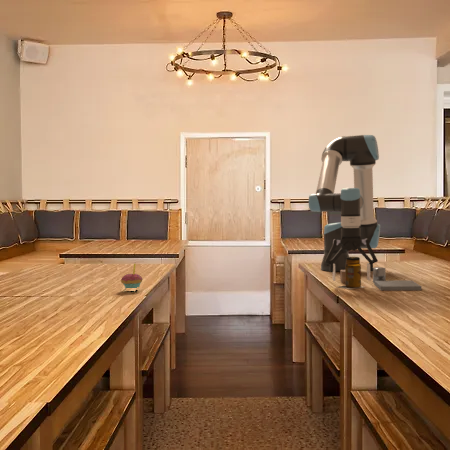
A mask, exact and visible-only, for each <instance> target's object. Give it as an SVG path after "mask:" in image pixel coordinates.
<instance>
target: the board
mask: <svg viewBox="0 0 450 450" xmlns="http://www.w3.org/2000/svg"><path fill="white" fill-rule="evenodd" d="M373 285H374V286H376V288H378V290H380V291H383V290H384V291H422V289H423V286H422V285H420V284H419V283H417V282H415V281H414V280H413V279H412V280H411V279H409V280H407V279H406V280H398V279H397V280H386V281H374V283H373Z"/></svg>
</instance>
